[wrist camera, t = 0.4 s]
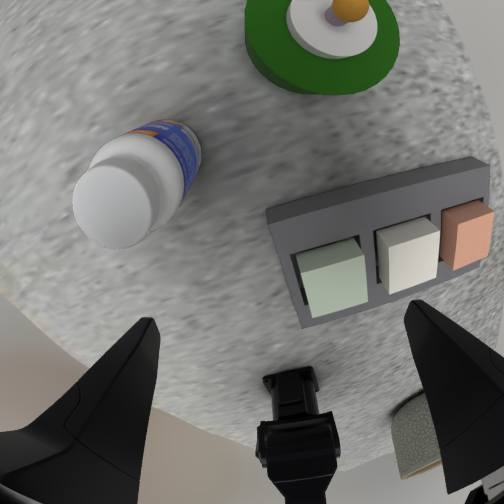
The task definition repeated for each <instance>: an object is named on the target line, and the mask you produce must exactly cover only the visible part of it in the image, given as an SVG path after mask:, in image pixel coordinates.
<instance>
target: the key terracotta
mask: <svg viewBox="0 0 504 504" xmlns="http://www.w3.org/2000/svg"><path fill="white" fill-rule="evenodd" d="M493 219H494V211H493V210H492V209H490V208H489V207H488V206H486V205H485V204H483V203H482V202H481V201H479V200H475V201H472V202H469V203H466V204H463V205H460V206H456V207H453V208H450V209H447V210H444V211H442V228H441V244H440V257H441V258H442V259H443V260H444V261H445V262H446V263H447V265H448V266H449V267H450V268H451V269H452V270H453V271H454V270H456V269H458V268H461V267H463V266H466V265H468V264H470V263H473V262H475V261H477V260H479V259H482V258H484V257H486V256H488V251H489V246H490V240H491V234H492V227H493Z"/></svg>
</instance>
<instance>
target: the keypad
mask: <svg viewBox="0 0 504 504" xmlns="http://www.w3.org/2000/svg"><path fill="white" fill-rule="evenodd" d="M489 186H490V165H488V164H486V163H484V162H482V161H480V160H478V159H476V158H474V157H468V158H464V159H459V160H454V161H450V162H445V163H440V164H436V165H432V166H427V167H423V168H419V169H414V170H410V171H406V172H402V173H398V174H394V175H390V176H385V177H381V178H378V179H374V180H370V181H366V182H362V183H358V184H354V185H350V186H347V187H343V188H339V189H335V190H332V191H328V192H324V193H321V194H317V195H314V196H310V197H307V198H303V199H299V200H296V201H293V202H289V203H286V204H282V205H279V206H275V207H272V208H269V209H266V213H267V220H268V225H269V228H270V231H271V234H272V237H273V240H274V243H275V246H276V249H277V253H278V256H279V259H280V262H281V265H282V268H283V271H284V274H285V277H286V280H287V284H288V287H289V290H290V293H291V296H292V299H293V303H294V306H295V309H296V312H297V315H298V319H299V322H300V325H301V328H302V329H303V328H307V327H311V326H315V325H318V324H322V323H325V322H329V321H332V320H336V319H339V318H343V317H346V316H349V315H352V314H356V313H359V312H362V311H365V310H368V309H371V308H374V307H377V306H380V305H383V304H386V303H389V302H392V301H395V300H398V299H401V298H403V297H406V296H409V295H412V294H414V293H417V292H420V291H422V290H425V289H428V288H430V287H433V286H435V285H438V284H440V283H443V282H445V281H448V280H450V279H452V278H455V277H457V276H459V275H462V274H464V273H466V272H469V271H471V270H473V269H475V268H478V267H479V266H480V261H481V259H479V260H477V261H475V262H473V263H470V264H468V265H466V266H463V267H461V268H458V269H456V270H454V271H453V270H452V269H451V268H450V267H449V266H448V265H447V263H446V262H445V261H444V260H443V259H442V258H441V257H440V244H441V228H442V211H444V210H447V209H450V208H453V207H456V206H460V205H463V204H466V203H469V202H472V201H475V200H479V201H481V202H482V203H483V204H485V205H486V206H488V202H489ZM424 216H425V217H426V218H427V219H428V220H429V221H430V222H431V223H432V224H434V225H435V226H436V227H437V228H438V229H439V230H440V241H439V254H438V265H437V274H436V278H434V279H431V280H428V281H426V282H423V283H420V284H418V285H415V286H412V287H410V288H407V289H404V290H401V291H398V292H395V293H393V294H390V295H389V293H388V291H387V289H386V288H385V286H384V284H383V283H382V281H381V279H380V277H379V266H378V250H377V238H376V231H378V230H381V229H384V228H388V227H391V226H394V225H398V224H401V223H404V222H408V221H411V220H414V219H417V218H421V217H424ZM350 238H354V239H355V241H356V242H357V244H358V246H359V247H360V249H361V250H362V252H363V254H364V257H365V268H366V280H367V294H368V302H365V303H362V304H359V305H356V306H353V307H349V308H346V309H343V310H340V311H336V312H333V313H329V314H326V315H322V316H319V317H315V318H312V314H311V311H310V307H309V303H308V299H307V295H306V292H305V288H304V284H303V280H302V277H301V273H300V269H299V266H298V262H297V258H296V255H295V254H298V253H302V252H305V251H309V250H312V249H316V248H319V247H323V246H326V245H330V244H333V243H337V242H340V241H344V240H347V239H350Z"/></svg>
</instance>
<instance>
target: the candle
mask: <svg viewBox="0 0 504 504" xmlns="http://www.w3.org/2000/svg"><path fill="white" fill-rule="evenodd" d="M245 44H246V48H247V51H248V54H249V56H250V58H251V60H252V62H253V64H254V65H255V67H256V68H257V69H258V70H259V72H260V73H261V74H262V75H264V76H265V77H266V78H267V79H268V80H269V81H271V82H273V83H274V84H276V85H278V86H279V87H282V88H284V89H287V90H289V91H293V92H297V93H302V94H323V95H346V94H354V93H357V92H361V91H364V90H366V89H368V88H370V87H372V86H374V85H376V84H377V83H379V82H380V81H381V80H382V79H383V78H384V77H386V76H387V74H388V73H389V71H390V70H391V69H392V67H393V66H394V63H395V61H396V59H397V56H398V51H399V45H400V37H399V29H398V25H397V21H396V18H395V16H394V13H393V11H392V9H391V7H390V6H389V4H388V3H387V1H386V0H247V4H246V8H245Z"/></svg>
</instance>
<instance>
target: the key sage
mask: <svg viewBox="0 0 504 504" xmlns="http://www.w3.org/2000/svg"><path fill="white" fill-rule="evenodd" d="M295 255H296V258H297V262H298V266H299V269H300V273H301V277H302V280H303V284H304V288H305V292H306V295H307V299H308V303H309V307H310V311H311V314H312V318H315V317H319V316H322V315H326V314H329V313H333V312H336V311H340V310H343V309H346V308H349V307H353V306H356V305H359V304H362V303H365V302H368V294H367V280H366V268H365V257H364V254H363V252H362V250H361V249H360V247H359V246H358V244H357V242H356V241H355V239H354V238H350V239H347V240H344V241H340V242H337V243H333V244H330V245H326V246H323V247H319V248H316V249H312V250H309V251H305V252H302V253H298V254H295Z"/></svg>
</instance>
